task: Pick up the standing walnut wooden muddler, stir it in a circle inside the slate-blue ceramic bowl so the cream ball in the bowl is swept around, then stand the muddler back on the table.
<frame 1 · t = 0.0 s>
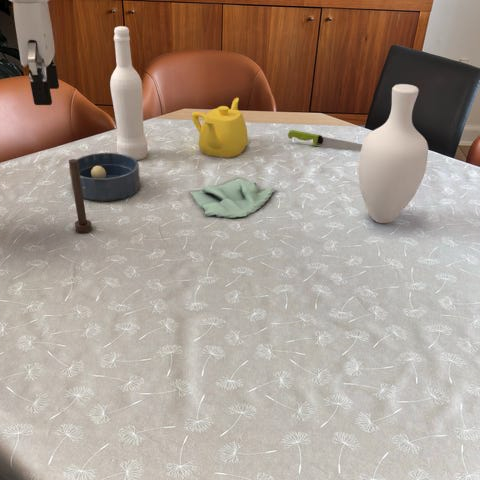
hand: (47, 96, 123), 28 cm above the table, tool pointing down, fingers open, 9 cm apart
muddler: (83, 229, 143), on the table
kitchen knife: (326, 148, 181), on the table
bowl: (106, 188, 159), on the table
teapot: (218, 148, 179), on the table
vase: (382, 220, 149), on the table
bottle: (133, 156, 174), on the table
ball: (98, 173, 159), point 2 cm above the table, touching bowl
cloth: (235, 198, 156), on the table
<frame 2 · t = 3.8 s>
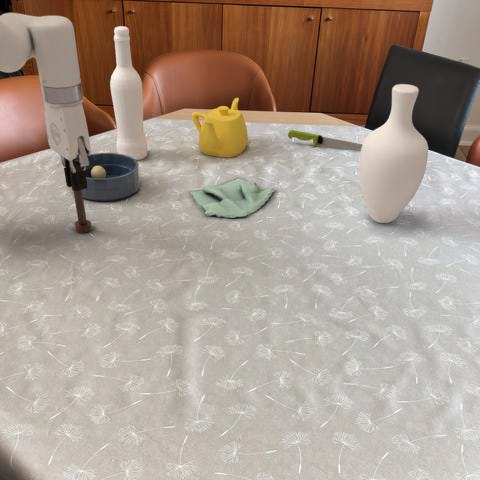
hand: (77, 186, 136), 10 cm above the table, tool pointing down, fingers closed on muddler
muddler: (83, 229, 143), on the table, touching gripper
everything else where it was.
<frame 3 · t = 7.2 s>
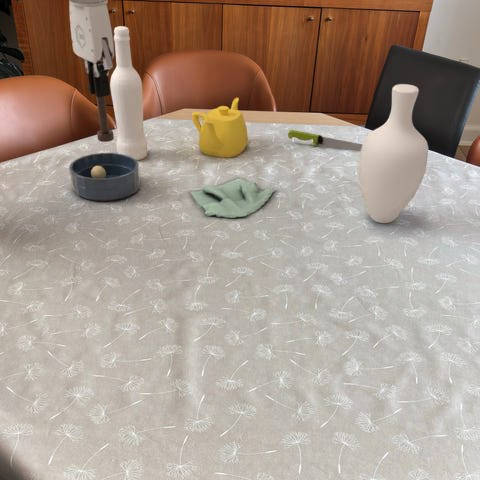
hand: (100, 93, 141), 22 cm above the table, tool pointing down, fingers closed on muddler
muddler: (105, 139, 148), point 13 cm above the table, touching gripper
everything else where it was.
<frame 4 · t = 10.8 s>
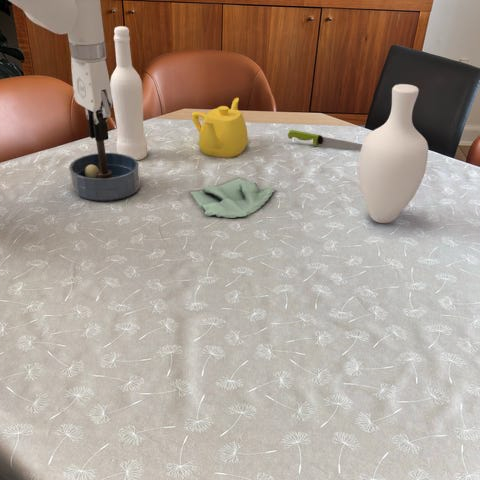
hand: (99, 138, 153), 11 cm above the table, tool pointing down, fingers closed on muddler
muddler: (105, 178, 159), point 2 cm above the table, touching ball, gripper
ball: (92, 172, 159), point 2 cm above the table, tilted 55°, touching bowl, muddler
everything else where it was.
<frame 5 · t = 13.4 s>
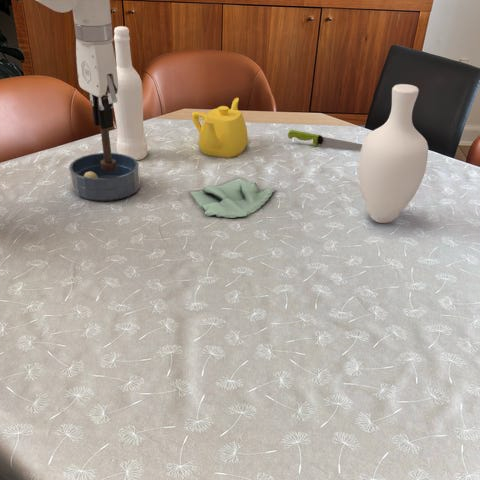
hand: (104, 125, 146), 16 cm above the table, tool pointing down, fingers closed on muddler
muddler: (108, 167, 153), point 6 cm above the table, touching gripper
ball: (90, 179, 157), point 2 cm above the table, tilted 39°, touching bowl
everything else where it was.
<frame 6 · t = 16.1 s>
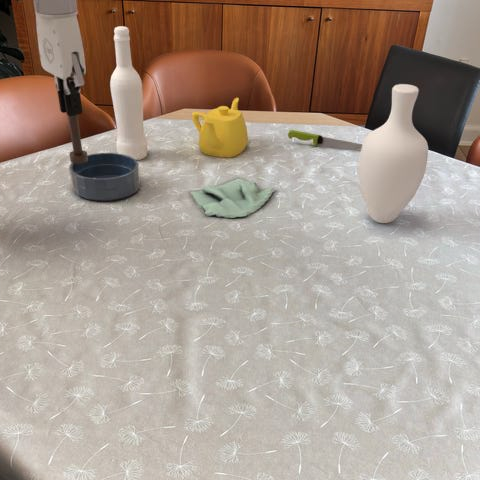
hand: (71, 112, 129), 23 cm above the table, tool pointing down, fingers closed on muddler
muddler: (79, 160, 135), point 14 cm above the table, touching gripper
ball: (94, 186, 154), point 2 cm above the table, tilted 170°, touching bowl
everything else where it was.
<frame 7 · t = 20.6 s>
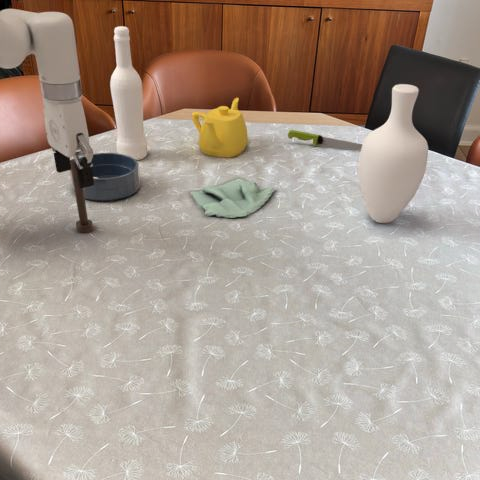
hand: (75, 178, 135), 11 cm above the table, tool pointing down, fingers open, 9 cm apart
muddler: (85, 229, 143), on the table
ball: (95, 185, 154), point 2 cm above the table, tilted 153°, touching bowl
everything else where it was.
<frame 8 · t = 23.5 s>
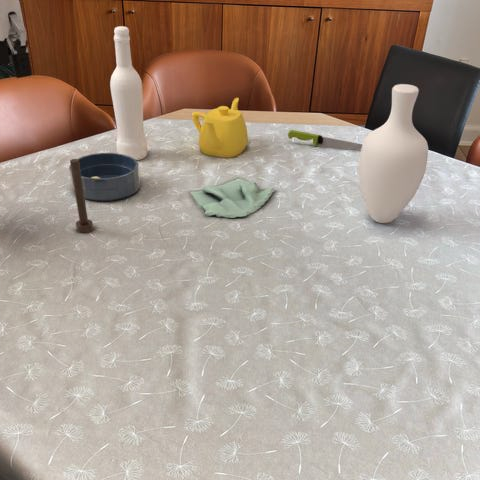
hand: (12, 70, 125), 30 cm above the table, tool pointing down, fingers open, 9 cm apart
ball: (95, 184, 155), point 2 cm above the table, tilted 141°, touching bowl
everything else where it was.
at the end: ball moved 6.4 cm from its start; ball inside the target area in the bowl (4.0 cm from its centre), point 2.4 cm above the bowl's base; muddler tilted 0° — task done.
